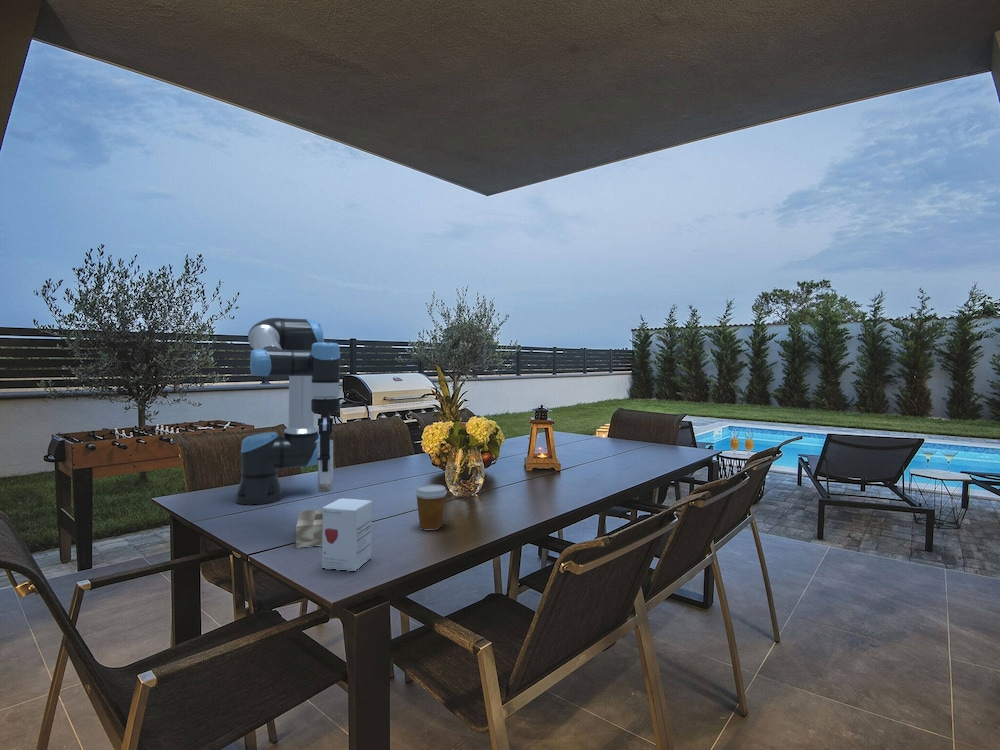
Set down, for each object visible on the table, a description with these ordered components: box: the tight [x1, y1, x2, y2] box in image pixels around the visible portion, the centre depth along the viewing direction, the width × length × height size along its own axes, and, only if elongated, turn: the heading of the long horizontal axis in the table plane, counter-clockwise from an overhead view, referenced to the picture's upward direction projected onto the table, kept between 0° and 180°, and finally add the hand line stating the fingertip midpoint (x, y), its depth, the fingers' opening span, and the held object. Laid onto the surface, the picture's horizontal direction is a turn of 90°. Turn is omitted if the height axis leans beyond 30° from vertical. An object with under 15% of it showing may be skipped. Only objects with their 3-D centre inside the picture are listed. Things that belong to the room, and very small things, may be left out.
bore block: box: [295, 509, 323, 548], centre depth 143 cm, size 14×14×6 cm
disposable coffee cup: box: [414, 484, 448, 530], centre depth 152 cm, size 10×10×12 cm
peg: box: [317, 439, 334, 493], centre depth 142 cm, size 4×4×14 cm
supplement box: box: [321, 497, 373, 572], centre depth 124 cm, size 9×9×15 cm
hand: (325, 481), depth 142 cm, fingers closed on peg, 4 cm apart
